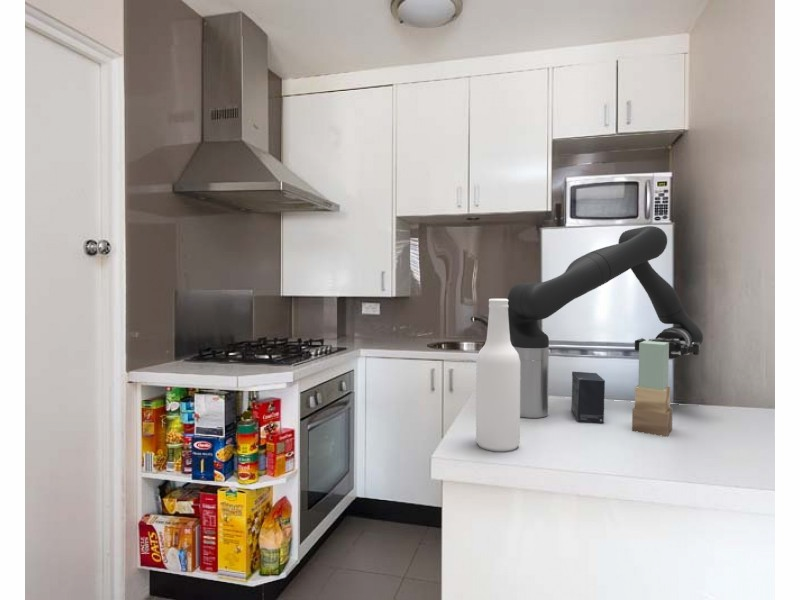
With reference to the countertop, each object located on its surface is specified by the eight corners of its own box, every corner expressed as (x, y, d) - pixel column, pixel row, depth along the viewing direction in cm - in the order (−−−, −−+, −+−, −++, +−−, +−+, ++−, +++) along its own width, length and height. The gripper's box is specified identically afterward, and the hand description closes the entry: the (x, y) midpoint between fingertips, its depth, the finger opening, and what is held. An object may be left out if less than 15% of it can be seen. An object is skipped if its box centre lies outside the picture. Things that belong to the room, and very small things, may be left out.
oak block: (664, 413, 105) (665, 391, 105) (634, 409, 109) (635, 387, 108) (669, 408, 110) (670, 386, 109) (640, 404, 113) (641, 382, 113)
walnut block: (667, 437, 104) (667, 414, 104) (632, 431, 109) (632, 409, 109) (672, 429, 110) (672, 407, 110) (638, 424, 114) (638, 403, 114)
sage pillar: (663, 390, 105) (664, 344, 105) (638, 387, 108) (639, 342, 108) (668, 386, 109) (669, 342, 109) (643, 383, 112) (644, 340, 112)
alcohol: (473, 450, 96) (474, 299, 95) (478, 436, 104) (479, 298, 103) (519, 454, 94) (520, 299, 93) (520, 440, 102) (521, 298, 101)
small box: (605, 424, 114) (606, 379, 114) (576, 422, 115) (577, 378, 115) (596, 412, 124) (597, 371, 124) (570, 411, 126) (570, 371, 125)
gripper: (643, 327, 134) (630, 332, 122) (704, 330, 126) (696, 336, 113) (643, 354, 135) (630, 362, 122) (703, 359, 126) (696, 367, 113)
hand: (662, 349), depth 117 cm, fingers open, 8 cm apart
